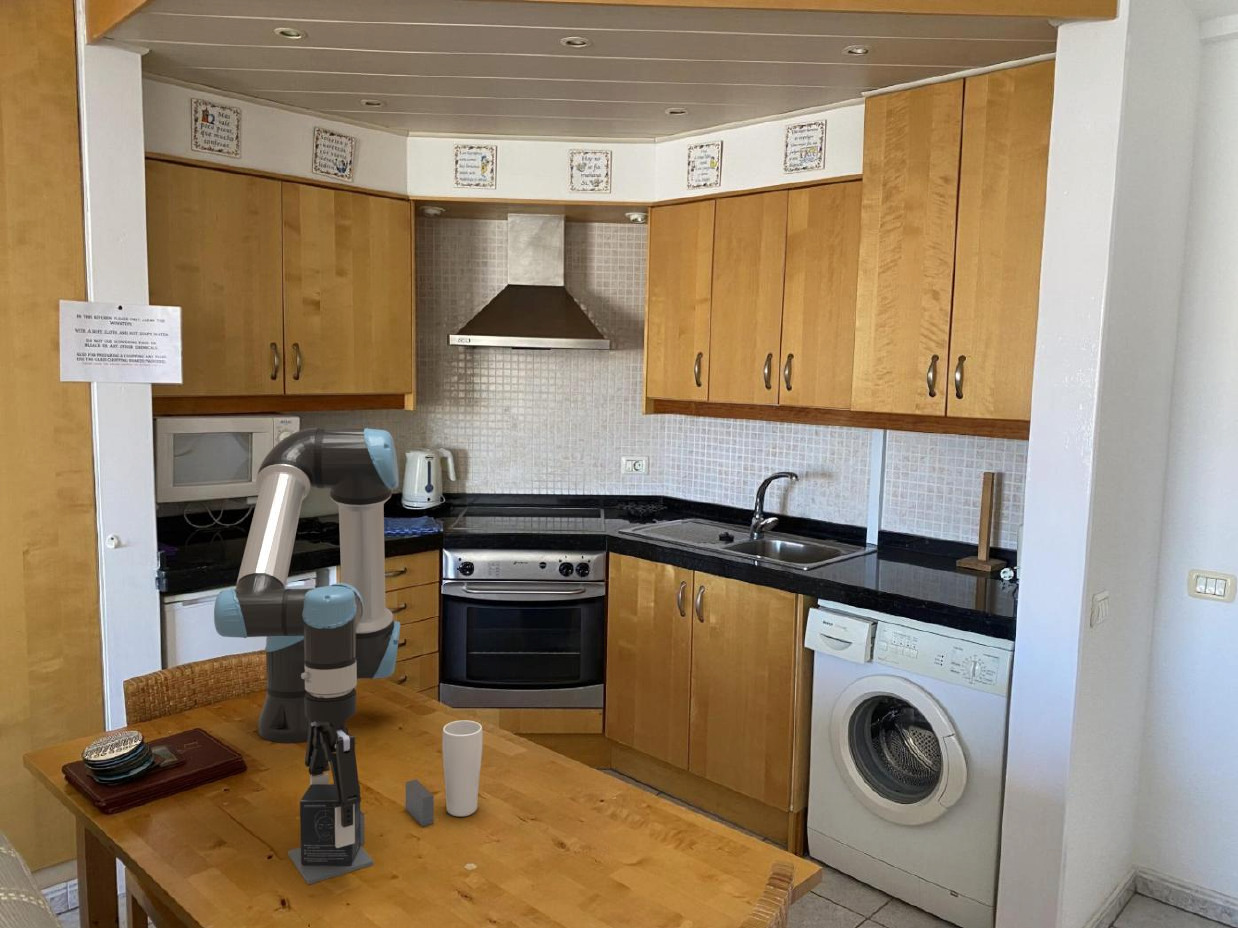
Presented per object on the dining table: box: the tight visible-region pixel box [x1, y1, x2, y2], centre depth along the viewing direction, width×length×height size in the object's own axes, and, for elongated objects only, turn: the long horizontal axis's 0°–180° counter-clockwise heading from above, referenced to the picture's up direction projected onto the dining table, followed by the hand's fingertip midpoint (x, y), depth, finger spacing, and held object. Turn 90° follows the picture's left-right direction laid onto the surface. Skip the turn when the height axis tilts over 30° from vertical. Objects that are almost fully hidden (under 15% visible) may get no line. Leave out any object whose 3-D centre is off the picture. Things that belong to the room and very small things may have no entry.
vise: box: [360, 778, 435, 846], centre depth 151 cm, size 7×19×5 cm, turn 126°
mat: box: [287, 845, 374, 886], centre depth 143 cm, size 10×10×1 cm
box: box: [299, 783, 362, 865], centre depth 142 cm, size 8×6×11 cm
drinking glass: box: [441, 719, 483, 817], centre depth 158 cm, size 7×7×15 cm
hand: (332, 829), depth 141 cm, fingers open, 11 cm apart
